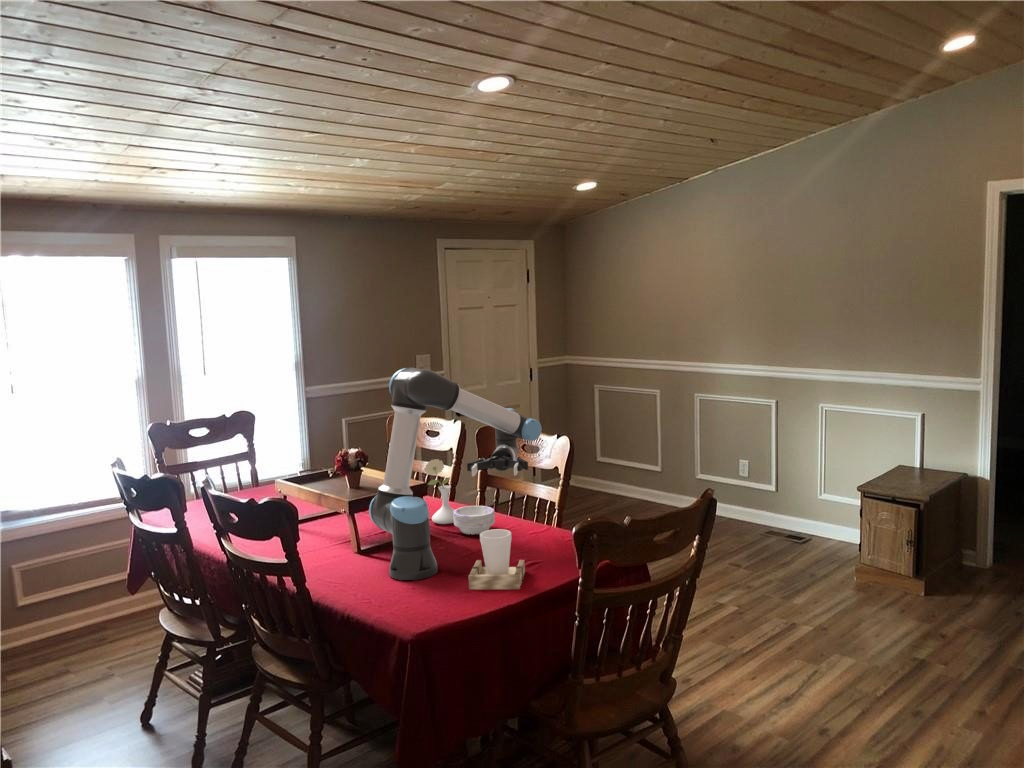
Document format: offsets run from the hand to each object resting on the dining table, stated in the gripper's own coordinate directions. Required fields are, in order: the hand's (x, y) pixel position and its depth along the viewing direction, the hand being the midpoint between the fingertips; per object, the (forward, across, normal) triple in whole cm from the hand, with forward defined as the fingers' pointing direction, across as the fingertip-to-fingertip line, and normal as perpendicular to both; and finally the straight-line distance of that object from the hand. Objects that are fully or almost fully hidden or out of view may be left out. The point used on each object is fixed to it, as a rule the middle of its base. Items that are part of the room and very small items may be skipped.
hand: (493, 471), depth 254 cm
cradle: (+16, -2, -30) cm, 34 cm away
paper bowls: (-35, +14, -30) cm, 49 cm away
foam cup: (+16, -2, -29) cm, 33 cm away
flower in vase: (-47, +28, -30) cm, 63 cm away
